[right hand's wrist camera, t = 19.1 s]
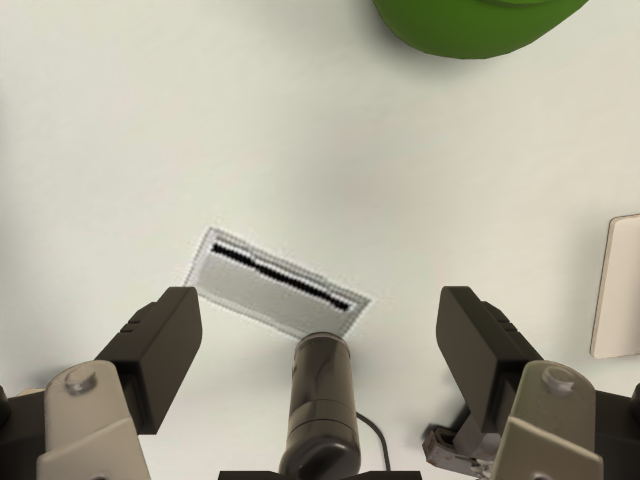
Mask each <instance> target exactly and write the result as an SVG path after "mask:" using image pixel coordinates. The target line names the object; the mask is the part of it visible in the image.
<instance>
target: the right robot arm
mask: <svg viewBox="0 0 640 480" xmlns="http://www.w3.org/2000/svg"><path fill="white" fill-rule="evenodd" d="M436 338H437V343H438V346H439V348H440V350H441V352H442V354H443V356H444V358H445V360H446V363H447V365H448V367H449V369H450V371H451V373H452V375H453V377H454V379H455V381H456V383H457V385H458V387H459V389H460V391H461V393H462V395H463V397H464V399H465V401H466V403H467V405H468V407H469V409H470V411H471V413H472V415H473V417H474V419H475V421H476V423H477V425H478V427H479V430H480V432H481V433H499V435H500V437H501V442H500V445H499V448H498V452H497V455H496V458H495V461H494V465H493V468H492V471H491V474H490V478H489V480H640V383H639V384H638V385H637V386H636V388H635V391H634V393H633V395H632V398H630V397H625V396H620V395H616V394H611V393H607V392H602V391H597V390H595V389H594V387H593V385H592V384H591V383H590V382H589V381H588V380H587V379H586V378H585V377H584V376H583V375H581V374H580V373H578V372H577V371H575V370H573V369H571V368H569V367H567V366H565V365H562V364H559V363H556V362H552V361H546V360H544V359H543V358H542V357H541V356H540V355H539V354H538V352H537V351H536V350H535V349H534V348H533V347H532V346H531V344H530V343H529V342H528V341H527V340H526V339H525V338H524V337H523V335H522V334H521V333H520V332H517V329H516V327H515V326H514V325H513V324H512V323H510V321H509V320H508V318H507V317H506V316H505V315H504V314H503V313H502V312H501V310H499V309H497V308H496V307H494V306H493V305H491V304H489V303H488V302H486V301H480V299H479V298H478V297H477V296H476V295H475V293H474V292H473V291H472V290H471V288H470V287H468V286H444V287H443V288H442V291H441V296H440V303H439V310H438V317H437V324H436ZM201 340H202V323H201V316H200V309H199V302H198V295H197V291H196V289H195V287H169V288H168V289H167V290H166V291H165V293H164V294H163V295H162V296H161V297H160V299H159V300H158V301H157V302H151V303H150V304H148V305H146V306H145V307H143V308H141V309H140V310H138V311H137V312H136V313H135V314H134V315H133V316H132V318H131V319H130V320H129V321H128V324H125V325H124V327H123V328H122V329H121V330H120V333H117V334H116V336H115V337H114V338H113V339H112V340H111V341H110V342H109V343H108V345H107V346H106V347H105V348H104V349H103V350H102V351H101V352H100V354H99V355H98V356H97V357H96V358H95V359H94V360H93V361H88V362H84V363H81V364H78V365H75V366H73V367H71V368H69V369H67V370H65V371H63V372H62V373H60V374H59V375H57V376H56V377H55V378H54V379H53V380H52V381H51V382H50V383H49V384H48V385H47V387H46V389H45V390H44V391H40V392H36V393H31V394H27V395H22V396H18V397H13V398H8V399H7V397H6V395H5V393H4V390H3V388H2V386H1V385H0V480H151V478H150V474H149V471H148V468H147V465H146V461H145V458H144V455H143V452H142V448H141V445H140V442H139V439H138V435H156V434H157V432H158V430H159V428H160V426H161V424H162V422H163V420H164V418H165V416H166V414H167V412H168V410H169V408H170V406H171V404H172V402H173V400H174V398H175V395H176V393H177V391H178V389H179V387H180V385H181V383H182V381H183V379H184V377H185V375H186V373H187V371H188V369H189V367H190V365H191V363H192V361H193V359H194V357H195V355H196V353H197V351H198V349H199V347H200V344H201ZM294 360H295V363H294V372H293V369H292V392H291V402H290V412H289V423H288V433H287V444H286V451H285V452H284V454H283V456H282V458H281V461H280V465H279V471H278V473H275V472H271V471H220V473H219V477H218V480H422V477H421V473H420V471H391V470H390V464H389V458H388V452H387V446H386V442H385V439H384V437H383V435H382V433H381V432H380V430H379V429H378V428H377V427H376V426H375V425H374V424H373V423H372V422H371V421H369V420H368V419H366V418H365V417H364V416H362V415H360V414H359V413H357V412H356V410H355V401H354V392H353V384H352V375H351V366H350V352H349V348H348V346H347V345H346V343H345V342H344V341H343V340H342V339H341V338H339V337H338V336H336V335H333V334H330V333H315V334H311V335H309V336H307V337H305V338H304V339H303V340H301V341H300V343H299V344H298V345H297V347H296V350H295V357H294ZM356 417H357V418H359V419H360V420H362V421H363V422H365V423H366V424H368V425H369V426H370V427H371V428H372V429H373V430H374V431H375V432H376V433H377V435H378V436H379V438H380V440H381V442H382V446H383V451H384V457H385V462H386V469H387V471H369V472H365V473H361V474H358V473H359V470H360V466H361V451H360V443H359V434H358V426H357V418H356Z"/></svg>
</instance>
